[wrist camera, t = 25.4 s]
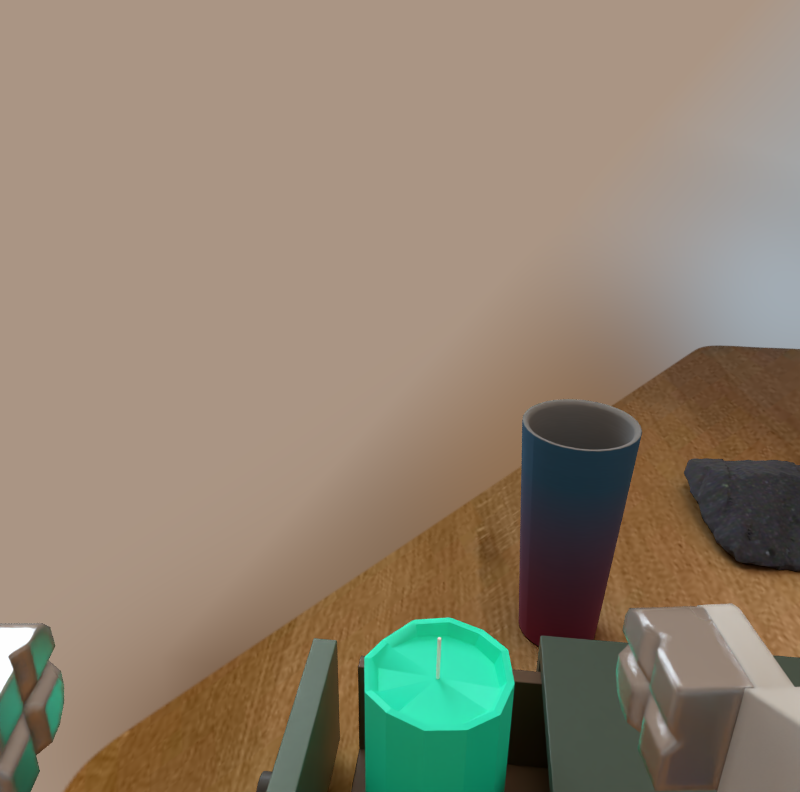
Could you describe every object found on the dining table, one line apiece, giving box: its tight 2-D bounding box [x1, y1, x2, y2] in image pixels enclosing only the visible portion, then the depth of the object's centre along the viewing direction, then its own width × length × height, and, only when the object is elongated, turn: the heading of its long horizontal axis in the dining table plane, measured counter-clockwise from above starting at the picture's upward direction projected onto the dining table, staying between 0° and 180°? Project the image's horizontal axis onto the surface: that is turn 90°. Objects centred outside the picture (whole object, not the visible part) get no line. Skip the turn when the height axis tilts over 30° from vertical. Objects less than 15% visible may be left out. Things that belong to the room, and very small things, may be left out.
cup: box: [519, 399, 642, 646], centre depth 47 cm, size 7×7×15 cm
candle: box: [364, 618, 515, 792], centre depth 32 cm, size 6×6×12 cm
